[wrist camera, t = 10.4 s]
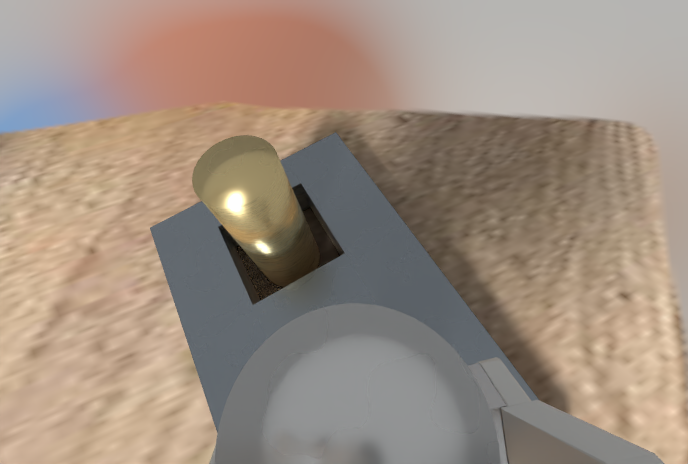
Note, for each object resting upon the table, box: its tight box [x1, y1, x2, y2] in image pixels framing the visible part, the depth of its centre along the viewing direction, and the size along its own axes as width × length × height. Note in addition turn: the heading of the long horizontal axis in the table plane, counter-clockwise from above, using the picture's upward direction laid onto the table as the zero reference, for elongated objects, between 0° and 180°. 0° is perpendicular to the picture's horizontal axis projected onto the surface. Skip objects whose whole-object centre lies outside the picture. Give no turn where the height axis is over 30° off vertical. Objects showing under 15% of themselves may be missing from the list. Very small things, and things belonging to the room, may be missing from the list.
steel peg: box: [215, 303, 501, 464], centre depth 10 cm, size 4×4×10 cm
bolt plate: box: [150, 132, 540, 433], centre depth 19 cm, size 14×23×10 cm, turn 29°
